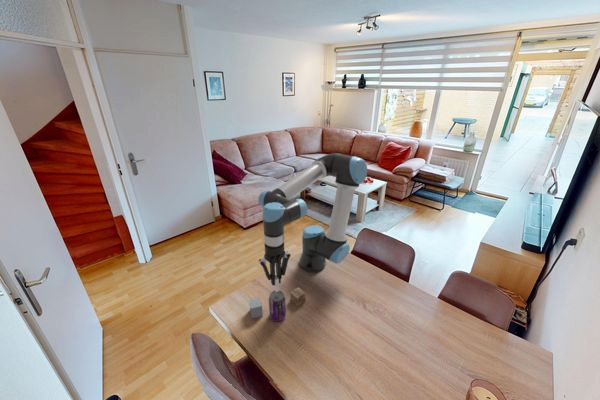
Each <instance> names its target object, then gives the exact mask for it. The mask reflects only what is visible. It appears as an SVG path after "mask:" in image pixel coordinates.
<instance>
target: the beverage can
mask: <svg viewBox="0 0 600 400" xmlns="http://www.w3.org/2000/svg"><path fill="white" fill-rule="evenodd" d="M286 306H287V305H286V296H285V294H284V292H283V291H282V290H279V291H278V292H275V290H273V291H271V292H270V294H269V297H268V308H269V309H268V310H269V318H270V320H272V321H274V322H280V321H281V322H282V321H283V320H284V319H285V318H286V315H287V311H286Z"/></svg>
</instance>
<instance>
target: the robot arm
mask: <svg viewBox="0 0 600 400" xmlns="http://www.w3.org/2000/svg"><path fill="white" fill-rule="evenodd" d="M367 176H368V165H367V163H366V161H365V160H364V159H363V158H361V157H358V156H354V155H353V156H352V155H348V154H343V153H338V152H337V153H336V152H334V153H333V152H331V153H329V154H326V155H323V156H320V157H318V158H317V159H315V160H314V161H312V162H311V165H309V166H308V167H307V168H305V169H304V170H302V171H301V172H299V173H297V174H296V175H294V176H293V177H291V178H290V179H288V180H287V181H285V182H284V183H282V184H281V185H279V186H278V187H276V188H275V189H273V190H272V191H270V190H263V191H262V192H260V193H259V196H258V200H257V201H258V202H257V203H258V204H259V206H261V207H262V223H263V224H262V225H263V240H264V255H263V258H262V259H261V258H260V259H258V262H259V264H260V265H261V267H262V269H263V272H264V274H265V276H266V278H267V280H268V281H270V283H271V285H272V286H273V289H274V290H273V291H275V292H278V291H280V284H281V283H282V279H283V276H285V275H286V271H287V267H288V263H289V260H290V257H291V254H290V252H289V251H285V233H284V232H285V226H287V225H289V224H290V223H292V222H295V221H297V220H299V219H301V218H303V217H305V216H306V215H307V213H308V206H307V203H306V201H304V199H302V198H297V199H293V198H294V197H296V196H297V195H299V194H300V193H302V192H304V190H306V189H307V188H309V187H310V186H311V185H313V184H314V183H315V182H317V181H319V180H320V179H321V180H322V179H325V178H326V177H334V178H335V180H334V181H335V182H334V183H335V184H336V192H335V198H334V202H333V207H332V212H331V216H330V221H329V226H328V230H327V231H325V228H324V227H323V226H320V225H309V226H307V227H305V228H304V229H303V230H302V237H301V238H302V252H301V255H300V257H299V261H298V262H299V267H300V268H301V269H302V270H303V271H305V272H306V271H307V272H309V273H315V272H316V273H317V272H321V271H322V270H324V269H325V268H326V265H327V264H326V261H329V262H331V263H334V264H337V265H338V264H341V263H342V262H343V261H344V260H346V258H347V257H348V255H349V252H350V249H351V248H350V247H351V246H350V244H348V242H347V241H348V237H347V236H346V232H347V228H348V223H349V218H350V213H351V210H352V204H353V200H354V195H355V191H356V189H358V188H360V185H361V184H363V183H364V182H365V180H366V179H367ZM292 199H293V200H292ZM267 262H268V263H269V270H268V267H267Z"/></svg>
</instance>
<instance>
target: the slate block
mask: <svg viewBox="0 0 600 400" xmlns="http://www.w3.org/2000/svg"><path fill="white" fill-rule="evenodd" d="M248 304H249V310H250V317H251V319H255V318H260V317H264V316H263V315H264V314H263V305H262V304H263V303H262V301H261V297H257V298H253V299H249V300H248Z"/></svg>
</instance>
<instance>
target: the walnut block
mask: <svg viewBox="0 0 600 400" xmlns="http://www.w3.org/2000/svg"><path fill="white" fill-rule="evenodd" d="M289 295H290V298H289V299H290V301H291V302H292V303H293V304H294V305H295V306H297V307H298V306H300V305H301V304H303V303H304V302H305V301H306V292H305V291H303V290H302V289H301V288H300V287H297V288H294V289H293V290H292V291H290V293H289Z"/></svg>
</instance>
